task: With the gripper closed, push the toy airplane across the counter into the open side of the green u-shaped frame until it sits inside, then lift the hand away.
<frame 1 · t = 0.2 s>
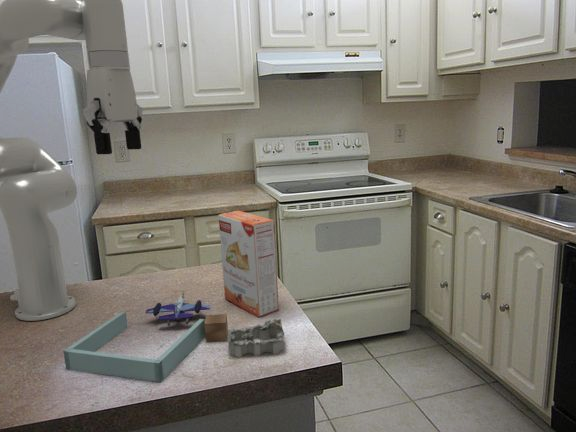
hand: (120, 151, 97), 36 cm above the countertop, tool pointing down, fingers open, 9 cm apart
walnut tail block: (217, 337, 95), on the countertop
green u-shaped frame: (141, 350, 91), on the countertop
toy airplane: (180, 318, 105), on the countertop
egg carton: (256, 349, 91), on the countertop
cracker box: (250, 306, 110), on the countertop
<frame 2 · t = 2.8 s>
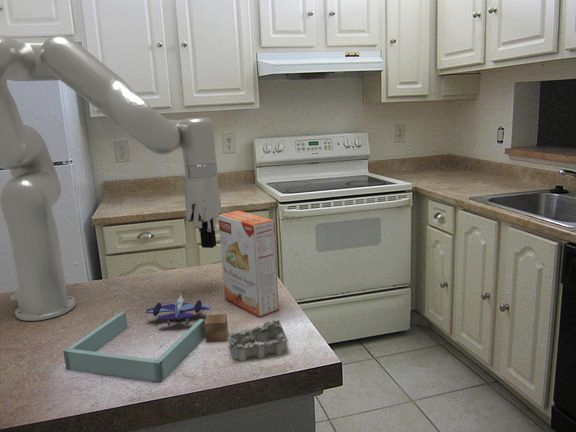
hand: (209, 246, 117), 11 cm above the countertop, tool pointing down, fingers closed
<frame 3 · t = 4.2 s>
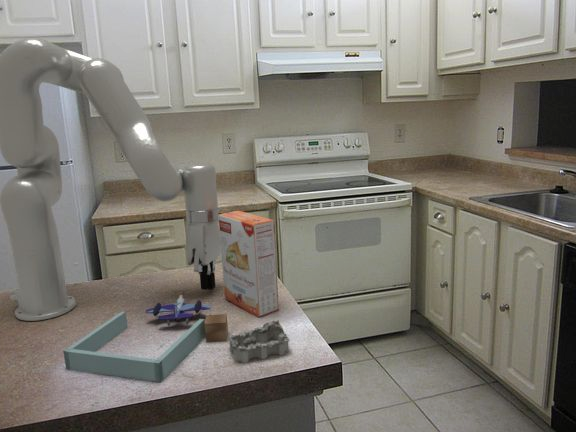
hand: (208, 288, 118), 1 cm above the countertop, tool pointing down, fingers closed
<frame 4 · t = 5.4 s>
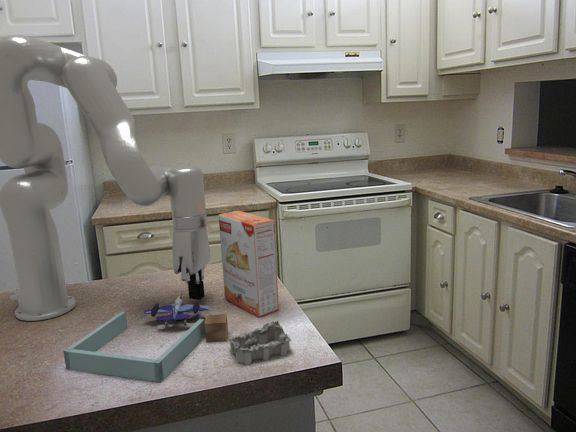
hand: (197, 297, 112), 1 cm above the countertop, tool pointing down, fingers closed
toy airplane: (178, 319, 105), on the countertop, touching gripper
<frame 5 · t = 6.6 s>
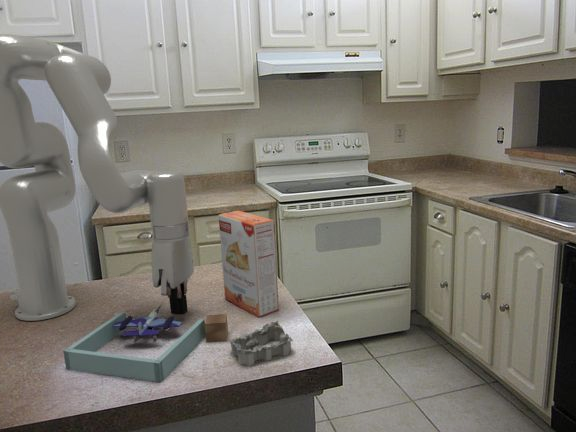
hand: (179, 312, 104), 1 cm above the countertop, tool pointing down, fingers closed
toy airplane: (151, 333, 98), on the countertop, touching gripper
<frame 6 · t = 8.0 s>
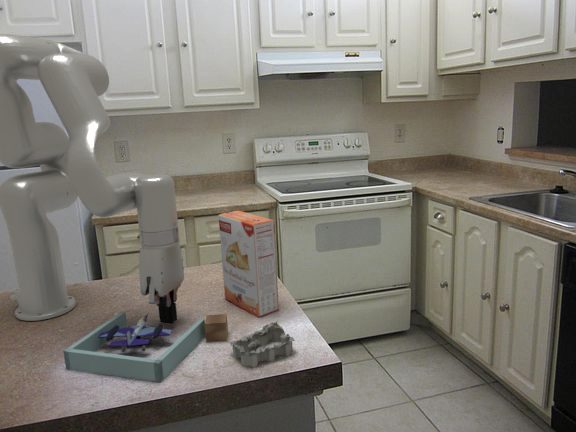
hand: (168, 321, 100), 1 cm above the countertop, tool pointing down, fingers closed
toy airplane: (139, 343, 95), on the countertop
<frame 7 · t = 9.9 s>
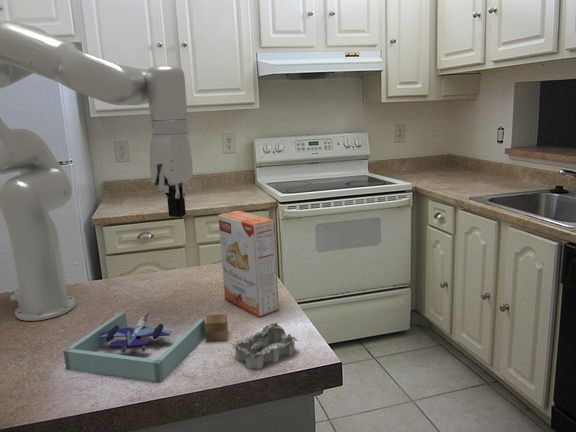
hand: (177, 215, 103), 22 cm above the countertop, tool pointing down, fingers closed
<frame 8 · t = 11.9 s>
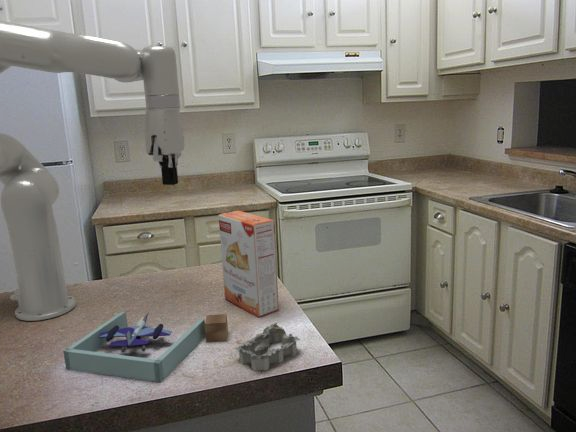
hand: (170, 184, 113), 27 cm above the countertop, tool pointing down, fingers closed
at the end: toy airplane inside the target area on the green u-shaped frame (5.0 cm from its centre), point 0.0 cm above the green u-shaped frame's base; toy airplane moved 12.4 cm from its start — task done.
